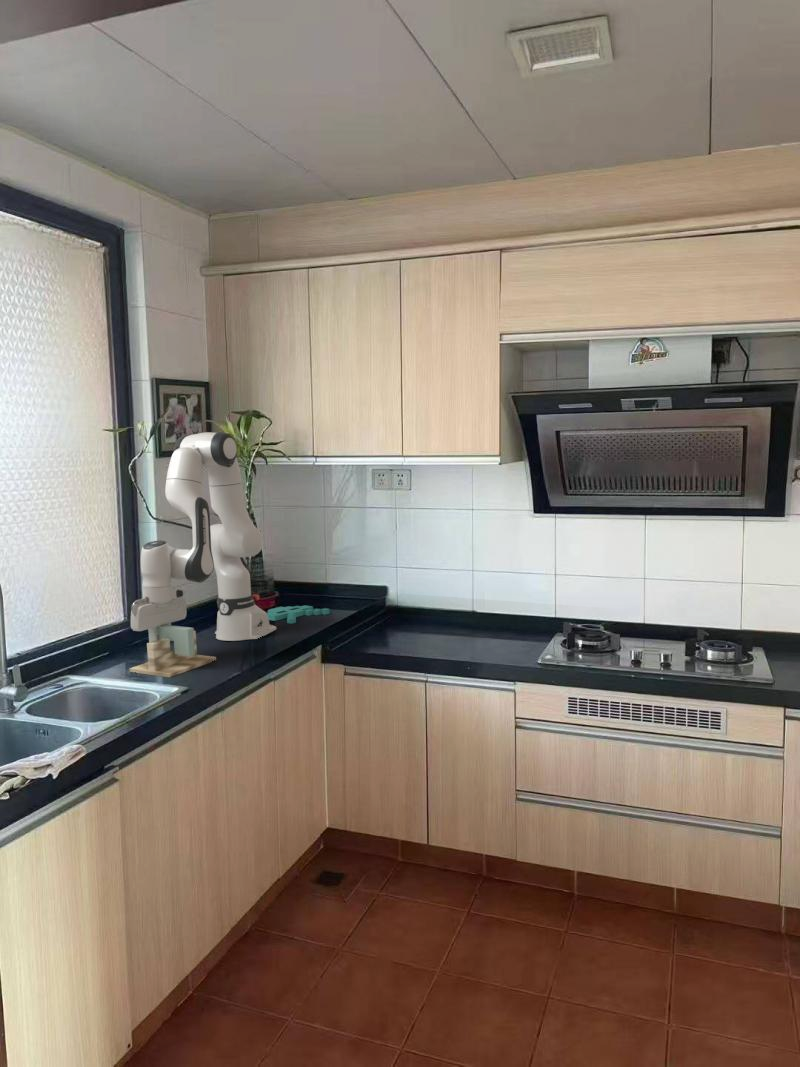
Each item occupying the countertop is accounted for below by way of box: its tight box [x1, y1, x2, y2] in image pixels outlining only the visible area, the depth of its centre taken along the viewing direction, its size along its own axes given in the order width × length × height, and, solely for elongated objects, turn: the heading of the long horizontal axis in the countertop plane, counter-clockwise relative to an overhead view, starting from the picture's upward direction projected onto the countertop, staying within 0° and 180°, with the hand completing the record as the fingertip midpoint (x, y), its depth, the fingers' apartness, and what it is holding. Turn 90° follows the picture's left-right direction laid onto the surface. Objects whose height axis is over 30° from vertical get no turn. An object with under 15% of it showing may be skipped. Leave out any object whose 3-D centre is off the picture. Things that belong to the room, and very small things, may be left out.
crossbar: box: [147, 624, 195, 656], centre depth 255 cm, size 16×2×8 cm, turn 61°
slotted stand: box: [129, 630, 217, 678], centre depth 255 cm, size 20×16×9 cm
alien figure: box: [266, 605, 330, 624], centre depth 322 cm, size 20×2×20 cm
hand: (160, 639), depth 257 cm, fingers closed on crossbar, 2 cm apart
